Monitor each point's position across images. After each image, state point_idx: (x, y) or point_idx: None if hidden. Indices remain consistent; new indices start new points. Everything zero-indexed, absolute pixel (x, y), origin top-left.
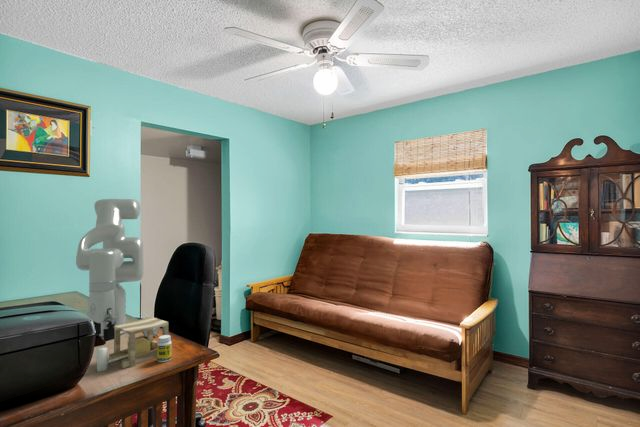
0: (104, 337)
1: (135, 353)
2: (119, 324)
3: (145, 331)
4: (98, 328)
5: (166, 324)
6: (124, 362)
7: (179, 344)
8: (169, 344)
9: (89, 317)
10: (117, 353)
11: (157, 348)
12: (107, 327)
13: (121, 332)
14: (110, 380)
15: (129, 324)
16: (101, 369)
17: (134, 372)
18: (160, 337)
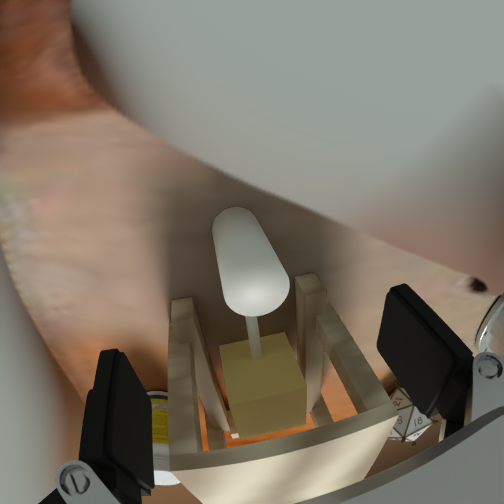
0: (96, 380)
1: (223, 372)
2: (500, 346)
3: (401, 404)
4: (405, 371)
5: None
6: (172, 320)
7: (261, 441)
8: None
9: (496, 458)
10: (305, 319)
11: (157, 431)
12: (62, 484)
13: (480, 336)
14: (74, 230)
15: (342, 461)
16: (214, 225)
17: (101, 318)
18: (160, 473)
